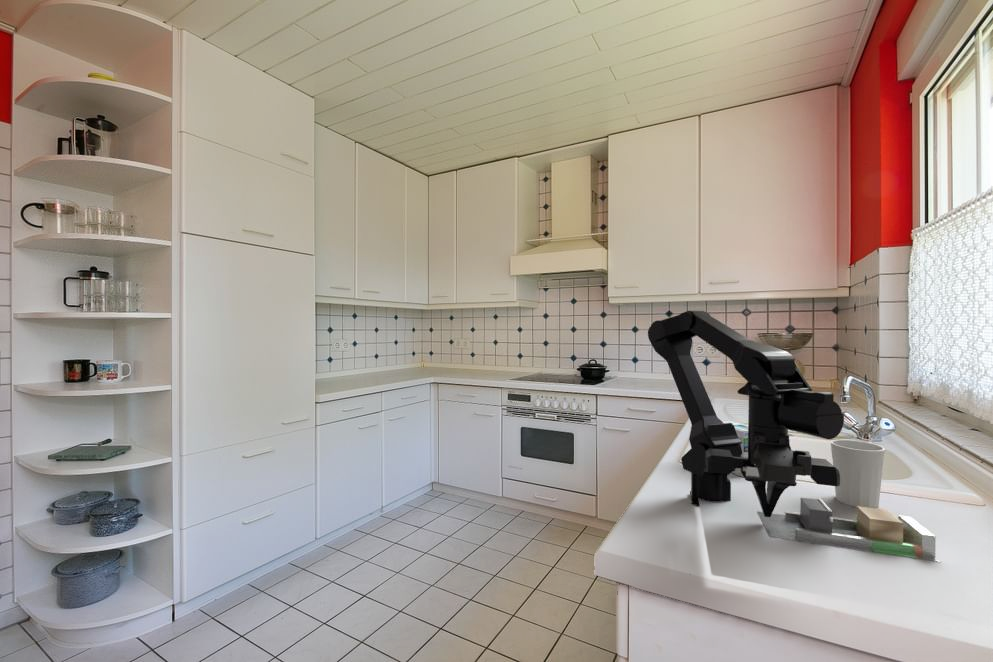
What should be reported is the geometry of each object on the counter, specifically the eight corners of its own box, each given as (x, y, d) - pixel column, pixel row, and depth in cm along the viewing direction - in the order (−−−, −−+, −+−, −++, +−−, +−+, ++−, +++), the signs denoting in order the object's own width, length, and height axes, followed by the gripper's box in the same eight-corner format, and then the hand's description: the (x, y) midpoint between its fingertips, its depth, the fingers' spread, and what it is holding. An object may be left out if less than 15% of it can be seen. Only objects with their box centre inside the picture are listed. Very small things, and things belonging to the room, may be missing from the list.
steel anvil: (921, 554, 64) (922, 534, 64) (898, 533, 70) (898, 515, 70) (935, 556, 63) (935, 536, 63) (910, 535, 70) (910, 516, 70)
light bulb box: (766, 475, 101) (767, 429, 101) (743, 478, 99) (743, 431, 99) (730, 461, 112) (730, 419, 111) (708, 464, 110) (708, 421, 109)
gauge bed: (769, 543, 69) (769, 528, 69) (757, 518, 79) (757, 504, 79) (941, 570, 62) (941, 553, 62) (905, 538, 71) (905, 523, 71)
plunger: (811, 536, 69) (811, 509, 69) (800, 520, 74) (800, 496, 74) (834, 539, 67) (834, 512, 67) (821, 523, 73) (821, 498, 73)
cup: (895, 518, 78) (895, 452, 78) (844, 514, 80) (845, 449, 80) (867, 501, 86) (867, 440, 86) (821, 498, 88) (822, 438, 88)
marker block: (869, 544, 67) (869, 518, 67) (856, 530, 71) (856, 506, 71) (902, 549, 65) (903, 522, 65) (887, 534, 70) (887, 509, 70)
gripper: (711, 430, 69) (710, 528, 70) (855, 441, 63) (854, 549, 63) (705, 416, 80) (704, 501, 80) (827, 425, 73) (826, 517, 73)
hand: (766, 516), depth 74 cm, fingers closed
